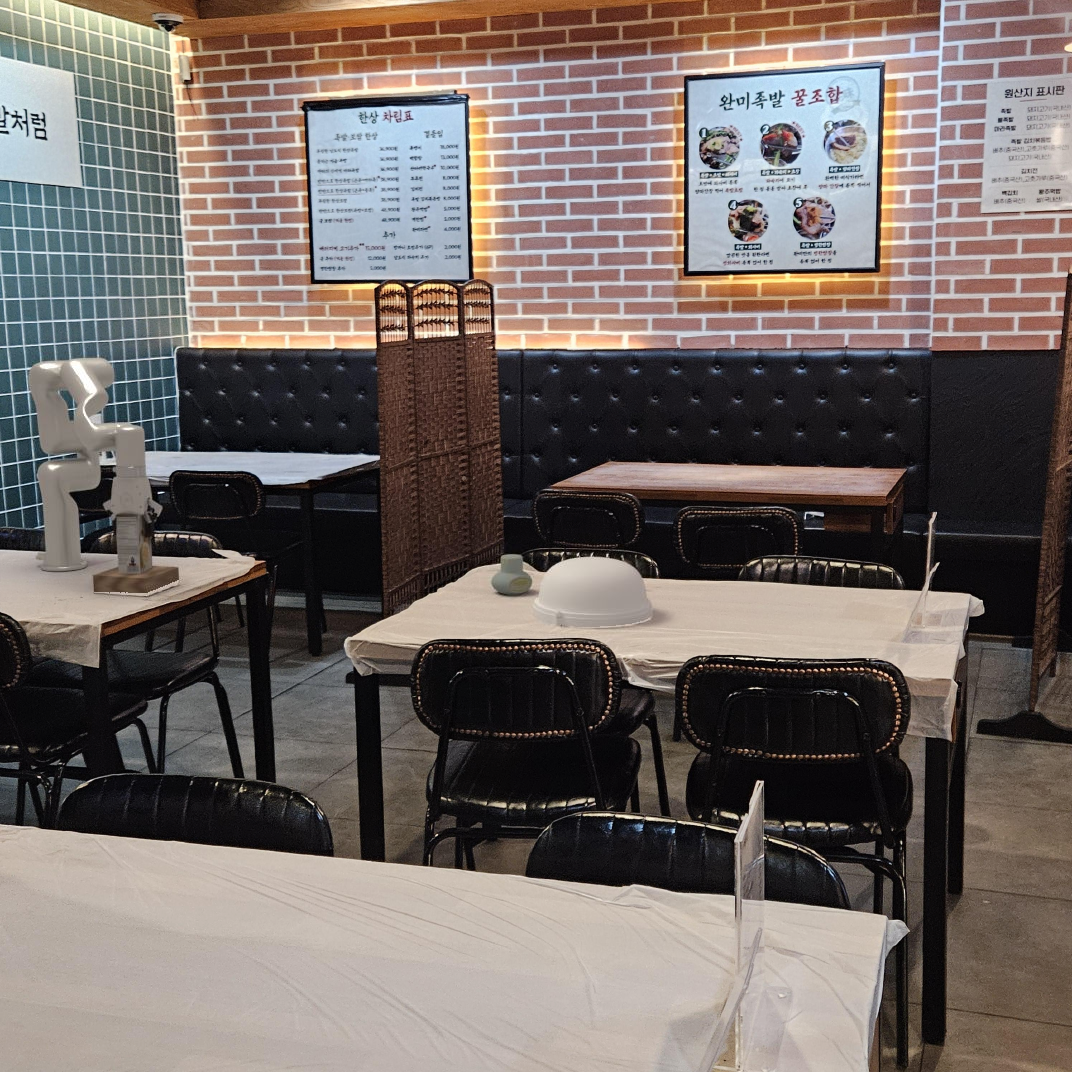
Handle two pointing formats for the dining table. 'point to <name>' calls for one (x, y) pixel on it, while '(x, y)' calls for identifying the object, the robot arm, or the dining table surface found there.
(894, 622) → the dining table surface
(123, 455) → the robot arm
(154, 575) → the walnut base
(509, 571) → the air freshener
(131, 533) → the coffee box
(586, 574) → the dome cover
